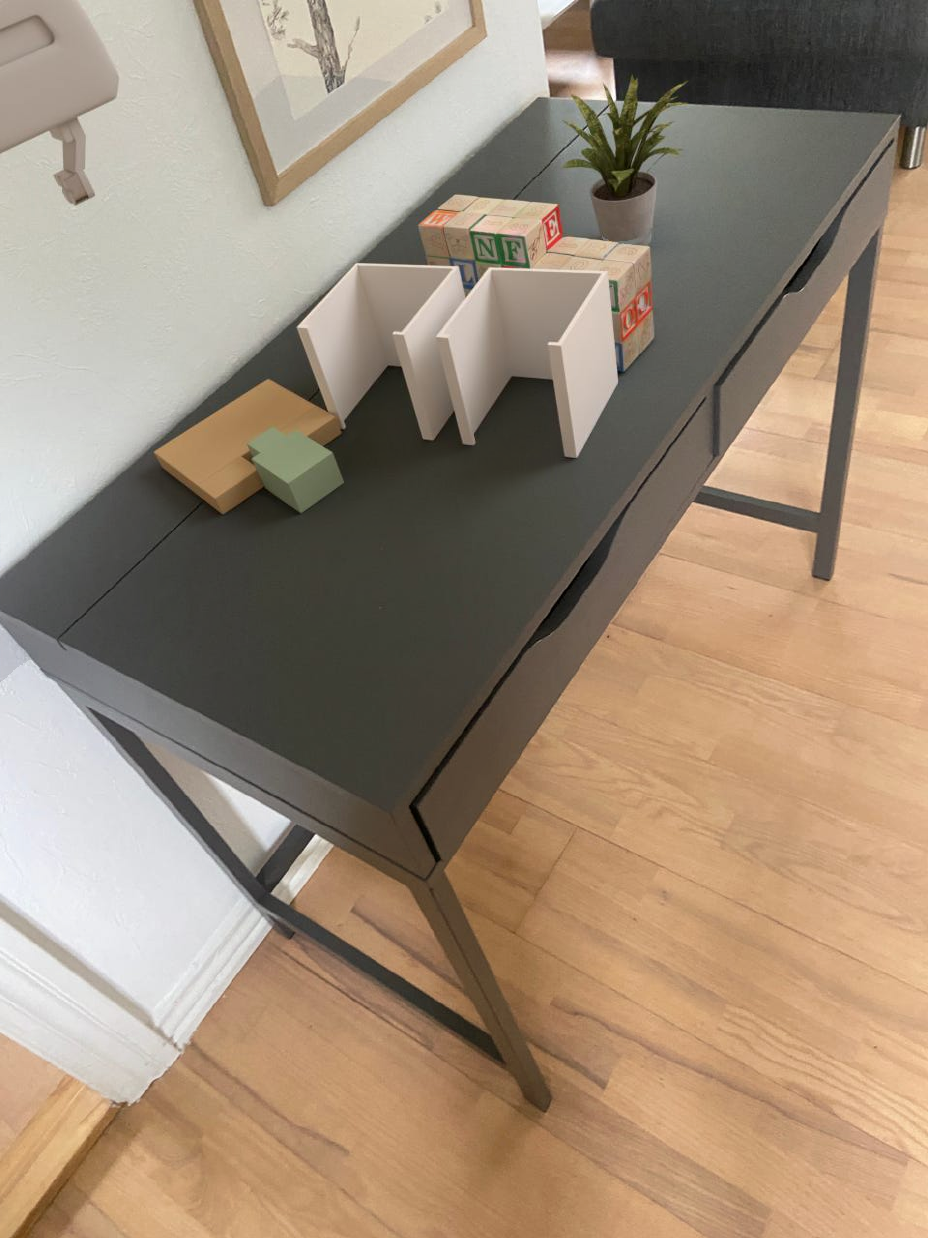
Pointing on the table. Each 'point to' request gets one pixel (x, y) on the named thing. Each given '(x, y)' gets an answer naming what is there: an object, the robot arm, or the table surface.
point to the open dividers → (466, 342)
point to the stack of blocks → (542, 257)
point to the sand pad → (240, 443)
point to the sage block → (294, 467)
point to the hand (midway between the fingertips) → (18, 232)
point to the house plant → (623, 165)
